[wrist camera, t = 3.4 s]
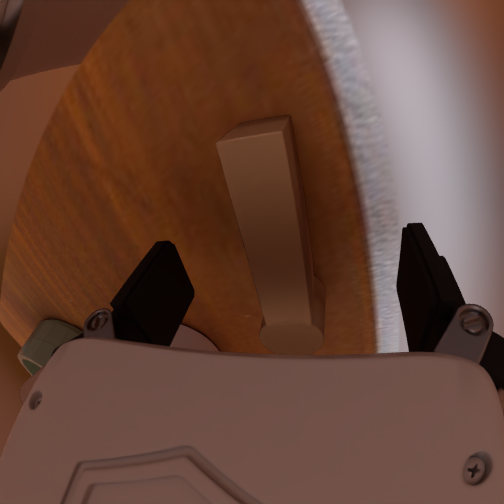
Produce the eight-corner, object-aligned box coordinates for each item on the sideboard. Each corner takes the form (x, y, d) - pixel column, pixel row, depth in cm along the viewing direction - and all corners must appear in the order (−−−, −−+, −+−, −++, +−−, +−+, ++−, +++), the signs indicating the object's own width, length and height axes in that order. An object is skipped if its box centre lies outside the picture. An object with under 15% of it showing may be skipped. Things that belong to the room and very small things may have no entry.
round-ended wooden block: (228, 125, 10) (199, 145, 8) (303, 112, 10) (300, 128, 7) (274, 311, 16) (265, 356, 14) (326, 309, 15) (324, 357, 13)
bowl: (22, 310, 27) (-1, 342, 22) (104, 325, 22) (72, 378, 17) (91, 385, 37) (76, 414, 32) (179, 411, 32) (165, 449, 27)
